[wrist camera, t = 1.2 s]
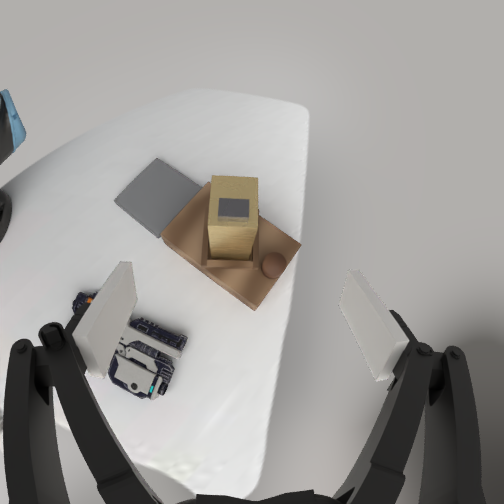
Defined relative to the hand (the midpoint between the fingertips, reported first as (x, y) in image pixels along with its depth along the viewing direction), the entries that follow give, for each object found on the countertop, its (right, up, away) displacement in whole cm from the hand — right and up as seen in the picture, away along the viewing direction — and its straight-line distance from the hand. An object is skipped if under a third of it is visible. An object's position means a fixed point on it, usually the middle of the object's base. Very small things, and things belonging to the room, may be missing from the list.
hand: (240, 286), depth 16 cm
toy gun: (-20, -13, +20) cm, 31 cm away
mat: (-15, +11, +28) cm, 34 cm away
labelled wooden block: (-2, +4, +23) cm, 23 cm away
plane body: (-3, +2, +26) cm, 27 cm away
